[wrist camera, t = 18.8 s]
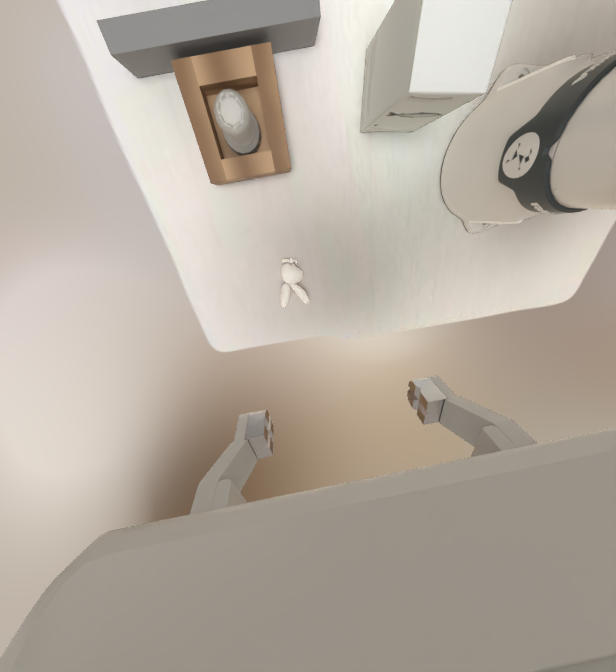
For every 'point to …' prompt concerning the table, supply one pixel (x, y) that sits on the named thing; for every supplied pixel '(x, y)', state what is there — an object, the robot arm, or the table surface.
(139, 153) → the table surface
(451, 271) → the table surface
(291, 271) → the rabbit figurine
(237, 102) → the rook chess piece
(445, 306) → the table surface
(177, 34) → the backstop board
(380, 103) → the supplement box
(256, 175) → the socket block
